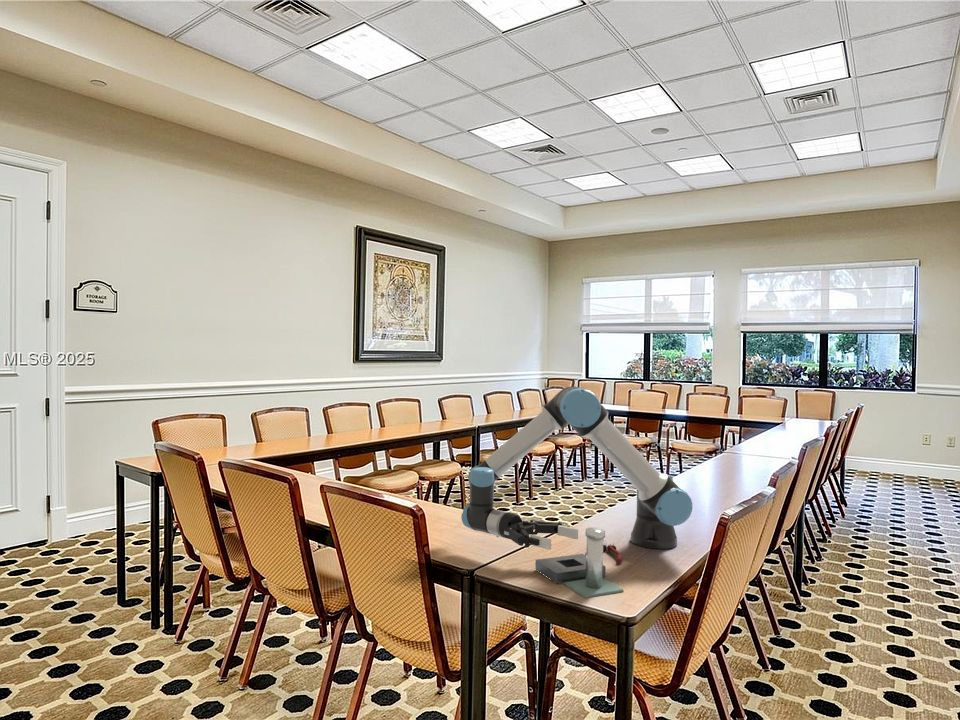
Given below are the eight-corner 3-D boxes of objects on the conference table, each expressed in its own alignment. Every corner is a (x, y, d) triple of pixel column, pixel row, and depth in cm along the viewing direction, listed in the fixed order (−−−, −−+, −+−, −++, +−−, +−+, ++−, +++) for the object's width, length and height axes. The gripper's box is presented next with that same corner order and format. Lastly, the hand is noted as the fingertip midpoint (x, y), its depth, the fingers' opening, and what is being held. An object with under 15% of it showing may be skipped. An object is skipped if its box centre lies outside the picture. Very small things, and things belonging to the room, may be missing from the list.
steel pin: (596, 581, 170) (597, 526, 170) (607, 588, 165) (609, 532, 165) (580, 583, 168) (581, 528, 167) (590, 590, 163) (592, 533, 163)
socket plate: (582, 563, 186) (582, 553, 186) (605, 576, 175) (605, 566, 175) (535, 570, 180) (535, 559, 180) (556, 584, 169) (556, 573, 169)
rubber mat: (601, 579, 173) (601, 576, 173) (623, 591, 164) (623, 589, 164) (564, 584, 168) (564, 582, 168) (585, 597, 159) (585, 595, 159)
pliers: (627, 547, 204) (627, 539, 204) (621, 567, 185) (621, 558, 185) (592, 544, 208) (592, 536, 208) (583, 562, 189) (583, 554, 189)
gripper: (529, 529, 196) (587, 543, 182) (477, 546, 177) (537, 563, 163) (530, 505, 196) (588, 517, 182) (478, 519, 177) (538, 535, 163)
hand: (564, 539), depth 173 cm, fingers open, 13 cm apart
